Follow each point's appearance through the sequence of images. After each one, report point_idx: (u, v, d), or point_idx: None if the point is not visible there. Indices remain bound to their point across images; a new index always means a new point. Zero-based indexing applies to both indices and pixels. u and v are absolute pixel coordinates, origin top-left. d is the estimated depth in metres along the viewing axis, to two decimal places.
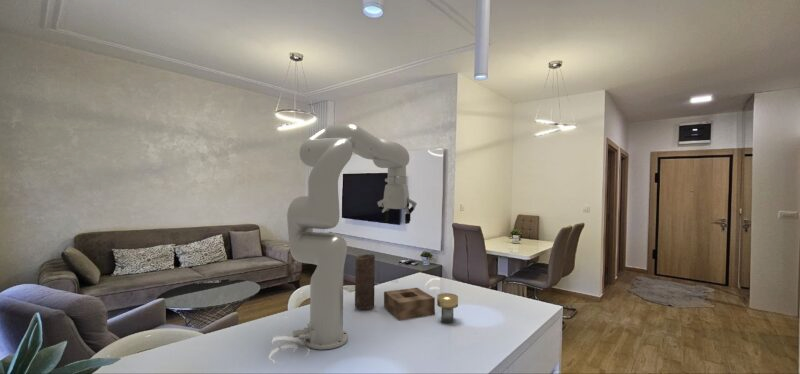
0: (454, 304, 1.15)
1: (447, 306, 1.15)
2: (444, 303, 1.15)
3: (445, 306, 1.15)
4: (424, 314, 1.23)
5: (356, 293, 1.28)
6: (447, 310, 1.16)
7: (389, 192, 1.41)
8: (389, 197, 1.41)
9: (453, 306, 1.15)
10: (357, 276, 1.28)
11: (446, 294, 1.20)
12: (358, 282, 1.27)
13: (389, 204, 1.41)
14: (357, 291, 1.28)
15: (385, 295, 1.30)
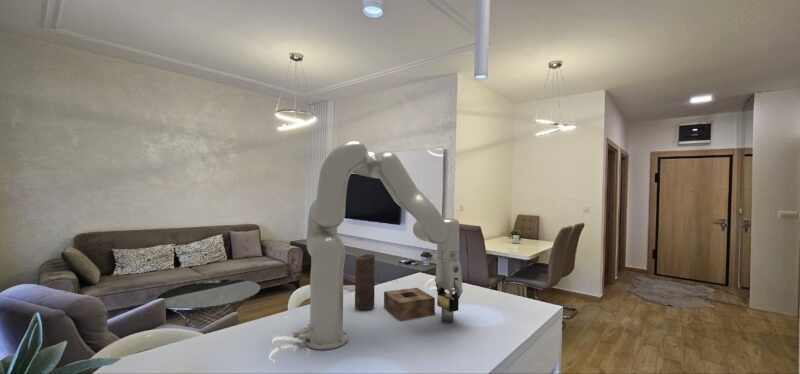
0: None
1: (447, 306, 1.15)
2: (444, 303, 1.15)
3: (445, 306, 1.15)
4: (424, 314, 1.23)
5: (356, 293, 1.28)
6: (447, 310, 1.16)
7: None
8: None
9: None
10: (357, 276, 1.28)
11: (446, 294, 1.20)
12: (358, 282, 1.27)
13: None
14: (357, 291, 1.28)
15: (385, 295, 1.30)
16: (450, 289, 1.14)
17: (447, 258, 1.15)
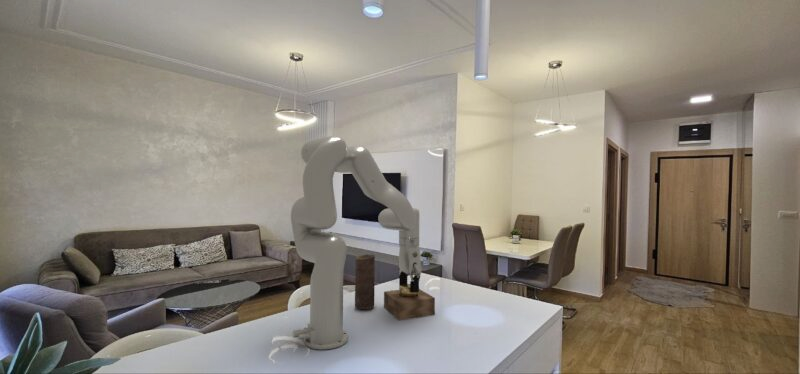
0: (414, 294, 1.25)
1: (407, 295, 1.25)
2: (404, 293, 1.25)
3: (405, 295, 1.25)
4: (424, 314, 1.23)
5: (356, 293, 1.28)
6: None
7: None
8: None
9: (413, 295, 1.25)
10: (357, 276, 1.28)
11: (407, 285, 1.30)
12: (358, 282, 1.27)
13: None
14: (357, 291, 1.28)
15: (385, 295, 1.30)
16: (409, 273, 1.23)
17: (407, 244, 1.24)
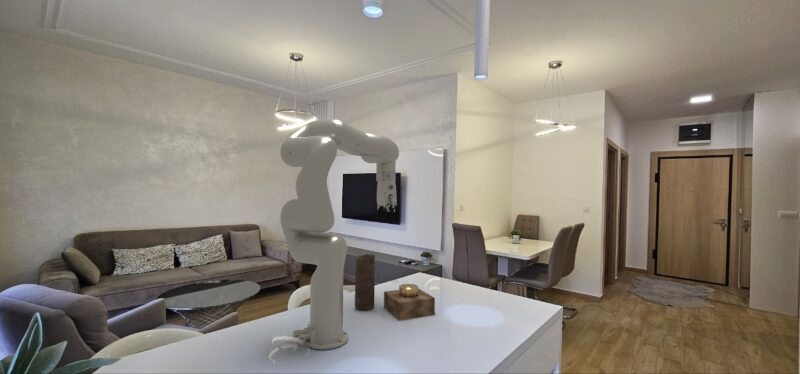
0: (414, 294, 1.25)
1: (407, 295, 1.25)
2: (404, 293, 1.25)
3: (405, 295, 1.25)
4: (424, 314, 1.23)
5: (356, 293, 1.28)
6: None
7: None
8: None
9: (413, 295, 1.25)
10: (357, 276, 1.28)
11: (407, 285, 1.30)
12: (358, 282, 1.27)
13: None
14: (357, 290, 1.28)
15: (385, 295, 1.30)
16: (385, 204, 1.31)
17: (383, 178, 1.32)
